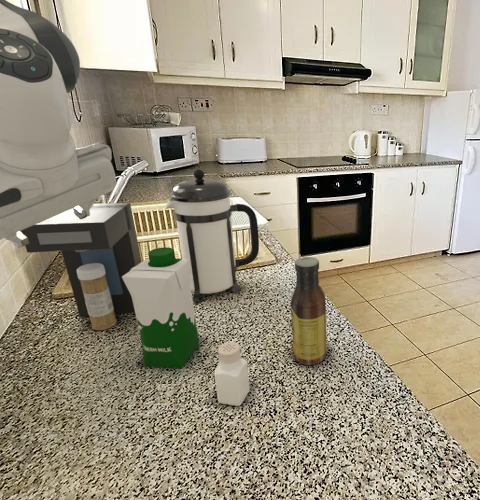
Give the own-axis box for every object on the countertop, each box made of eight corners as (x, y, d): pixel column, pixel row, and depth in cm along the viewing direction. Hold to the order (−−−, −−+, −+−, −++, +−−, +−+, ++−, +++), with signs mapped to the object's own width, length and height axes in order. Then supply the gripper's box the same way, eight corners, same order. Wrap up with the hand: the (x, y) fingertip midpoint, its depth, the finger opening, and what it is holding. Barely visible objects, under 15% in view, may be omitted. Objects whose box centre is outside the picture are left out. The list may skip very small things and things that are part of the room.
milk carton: (205, 341, 73) (192, 247, 66) (184, 372, 65) (166, 268, 58) (162, 339, 74) (143, 245, 66) (135, 370, 65) (111, 266, 58)
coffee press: (225, 309, 85) (210, 177, 74) (167, 298, 89) (144, 172, 78) (262, 278, 101) (255, 165, 90) (211, 269, 105) (198, 161, 94)
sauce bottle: (303, 343, 74) (300, 250, 66) (332, 351, 72) (332, 255, 64) (286, 363, 68) (281, 263, 61) (317, 372, 66) (316, 270, 59)
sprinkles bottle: (101, 319, 80) (86, 261, 75) (122, 319, 80) (108, 262, 75) (86, 331, 76) (69, 271, 71) (108, 332, 76) (93, 272, 71)
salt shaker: (251, 390, 62) (247, 341, 58) (240, 408, 58) (235, 357, 54) (228, 386, 62) (223, 338, 59) (216, 404, 58) (209, 354, 55)
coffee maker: (55, 345, 71) (17, 226, 63) (87, 307, 84) (59, 204, 76) (129, 338, 74) (103, 222, 65) (149, 302, 87) (130, 202, 78)
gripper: (94, 127, 58) (100, 190, 67) (-76, 177, 43) (-38, 248, 53) (125, 152, 57) (126, 211, 67) (-37, 210, 43) (-6, 276, 52)
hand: (53, 228), depth 60 cm, fingers open, 8 cm apart
